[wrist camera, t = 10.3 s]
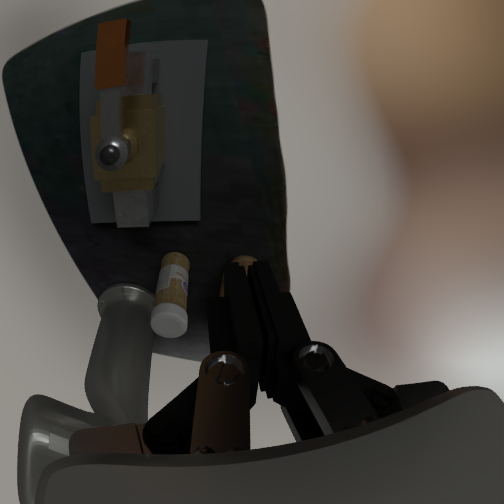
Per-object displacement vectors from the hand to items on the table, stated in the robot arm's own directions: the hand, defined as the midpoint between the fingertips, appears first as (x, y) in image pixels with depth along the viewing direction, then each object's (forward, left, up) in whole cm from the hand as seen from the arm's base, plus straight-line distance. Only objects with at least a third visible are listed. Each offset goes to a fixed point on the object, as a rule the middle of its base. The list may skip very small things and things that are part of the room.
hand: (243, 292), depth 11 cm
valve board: (+2, +10, -28) cm, 30 cm away
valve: (+2, +10, -26) cm, 28 cm away
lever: (+8, +10, -17) cm, 21 cm away
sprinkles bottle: (-18, +6, -28) cm, 34 cm away
